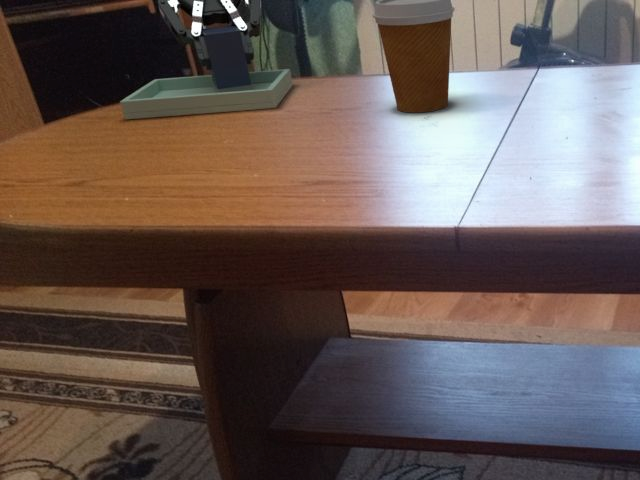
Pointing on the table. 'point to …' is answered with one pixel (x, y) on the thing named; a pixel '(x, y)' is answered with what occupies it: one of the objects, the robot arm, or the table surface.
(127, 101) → the tray
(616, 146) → the table surface
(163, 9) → the robot arm
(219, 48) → the eraser
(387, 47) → the disposable coffee cup
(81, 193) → the table surface
